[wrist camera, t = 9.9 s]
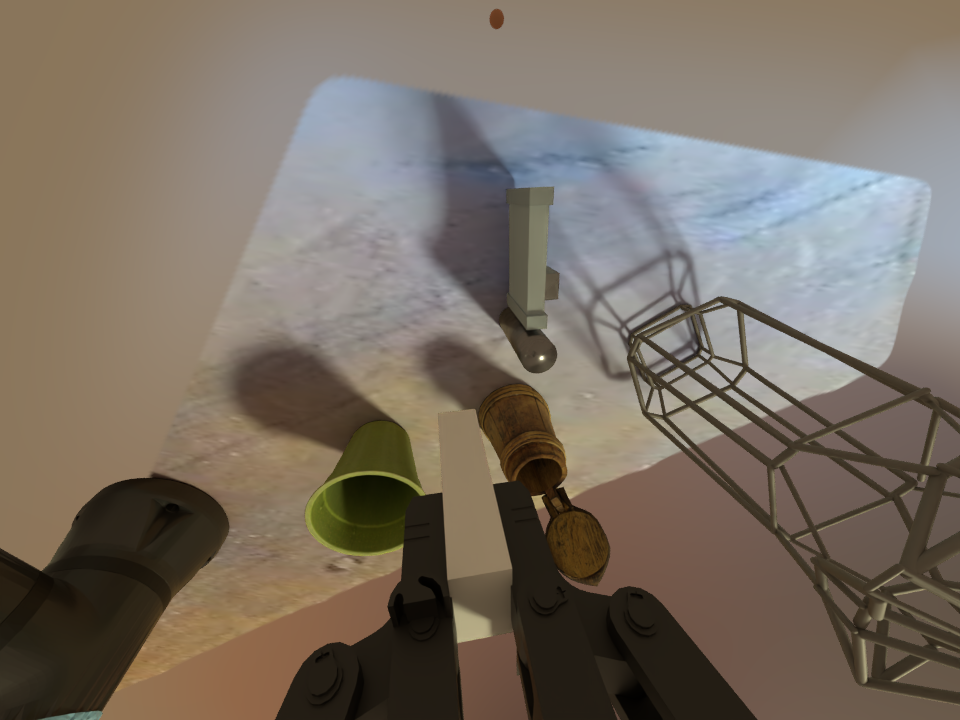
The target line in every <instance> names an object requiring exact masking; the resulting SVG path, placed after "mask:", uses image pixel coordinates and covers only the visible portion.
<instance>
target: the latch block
mask: <svg viewBox="0 0 960 720" xmlns="http://www.w3.org/2000/svg"><path fill="white" fill-rule="evenodd" d="M559 274H560V273H558V272H557V271H555V270H553V269H551V268H550V267H548V266H546V282H545V300H554V299H558V291H559Z"/></svg>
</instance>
